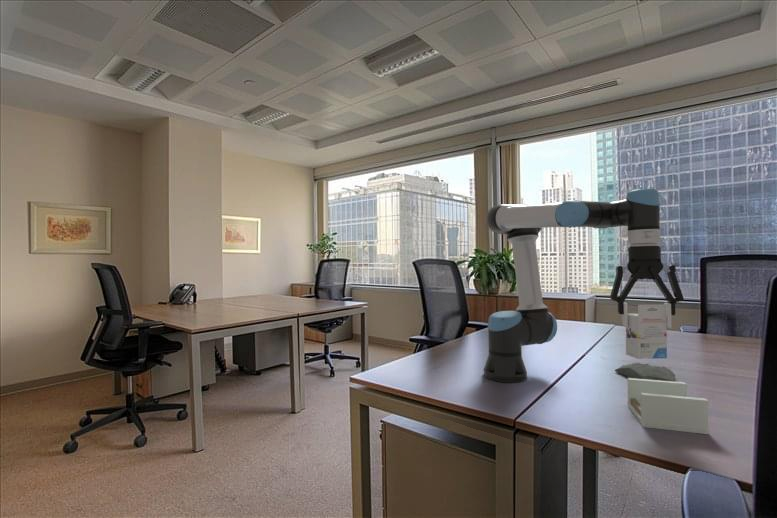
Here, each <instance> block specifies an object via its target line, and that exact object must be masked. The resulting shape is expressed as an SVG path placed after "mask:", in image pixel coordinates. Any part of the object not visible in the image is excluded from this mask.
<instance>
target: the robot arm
mask: <svg viewBox="0 0 777 518" xmlns="http://www.w3.org/2000/svg"><path fill="white" fill-rule="evenodd" d="M660 209H661V202H660V194H659V191H658V190H657V189H655V188H638V189H633V190H630V191H627V193H626V197H625V199H622V200H616V201H609V202H608V201H592V200H591V201H587V200H578V199H569V200H564V201H562V202H552V203H541V204H531V205H528V204H511V203H510V204H507V203H501V204H496V205H493V206H492V207H491V208H490V209H489V210H488V212H487V213H486V216H485V221H486V222H485V224H486V226H487V227H488V228H489V230H491V231H492V232H493V233H495V234H498V235H506V239H507V241H508V242H509V243H510V244H511V246H512V253H513V254H512V255H513V263H514V270H515V271H514V272H515V278H516V279H515V280H516V287H517V295H518V306H517V307H516V309H515V310H502V311H497V312H493V313H491V314H490V315H489V317H488V323H487V324H488V325H487V329H488V356H487V359H486V361H485V364H484V367H483V368H484V369H483V376H484V377H485V378H486V379H488V380H491V381H494V382H499V383H512V384H513V383H520V382H524V381H526V380H527V379H528V371H527V368H526V366H525V361H524V359H523V355H522V351H523V350H522V348H523V347H525V346H533V345H542V344H545V343H548V342H551V341H552V340H553V339H554V338H555V337H556V335H557V331H558V323H557V319H556V317H555V316H554V315H553V314H552V313H551V312H549V307H548V306H547V305H546V304H545V303H544V300H543V293H542V287H541V277H540V271H539V263H538V261H539V260H538V253H537V246H536V245H537V244H536V241H537V240H538V238H539V233H540V232H541V230H542V229H546V228H593V229H604V230H605V229H609V228H616V227H626V226H627V245H629V246H628V248H627V255H628V256H627V258H628V259H627V261H628V262H627V264H626V265H615V277H614V281H613V285H612V288H611V292H610V295H609V298H610V300H612V301H615V302H617V313H618V314H619V315H621V320H622V321H621V322H622V323H621V324H622V325H621V326H623V327H624V328H626V327H628V315H627V314H628V302H625V300H626V299H627V297H628V296H629V294H630V293H631V291H632V289H633V287H634V286H635V284H636V283H637V281H638V280H646V279H647V280H652V281H653V282H654V283H655V285H656V286H657V288H658V290H659V291H660V292H661V294H662V295H663V297H664V299H666V301H667V302H664V303H663V304H665V305H666V316H667V329H672V328H673V327H672V326H673V325H672V316H676V304H677V303H679V302H683V301H684V300H685V298H684V296H683V293H682V290H681V286H680V284H679V282H678V281H679V280H678V279H677V278H678V277H677V275H676V269H677V268H676V265H675V264H664V263H663V262H662V249H661V248H662V247H661V246H660V244H661V225H660V223H661V221H660V220H661V219H660V218H661V217H660V216H661V215H660V214H661V213H660V212H661V211H660ZM663 270H664V273H666V276H667V280H668V282H669V285H670V287H671V290H672V292H670V290H669V288H668V287H667V286H666V284H665V282H664V281H663V279H662V277H661V276H660V273H661V271H663ZM626 271H629V273H630V276H629V278H628V280H627V282H626V284H625V285H624V287H623V289H622V290H621V292H620V294H619V291H620V288H621V285H622V280H623V277H624V274H625V273H626ZM672 293H673V294H672Z"/></svg>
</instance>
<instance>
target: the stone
mask: <svg viewBox="0 0 777 518" xmlns="http://www.w3.org/2000/svg"><path fill="white" fill-rule="evenodd" d="M614 371H615V372H616V373H618V374H620V375H623V376H625V377H627V378H636V379H648V380H661V381H674V382H677V381H676V380H677V377H676V374H675V373H674V371H672V370H671V369H669V368H667V367H666V366H659V365H658V366H657V365H650V364H648V363H640V362H633V363H630V364H629V363H628V364H624V365H623V364H622V365H621V366H620V367H618V368H616V369H614Z"/></svg>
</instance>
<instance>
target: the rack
mask: <svg viewBox="0 0 777 518" xmlns="http://www.w3.org/2000/svg"><path fill="white" fill-rule="evenodd" d="M687 389H688V388H687V383H686V382H684V381H675V382H674V381H661V380H648V379H636V378H629V377H627V401H626V404H627V407H628V408H629V410H630V411H631V412H632V413H633V415H634V416H635V417H636V419H637V421H638V422H639V423H640V424H641V426H642V427H643V428H648V429H649V428H650V429H658V430H667V431H676V432H684V433H685V432H686V433H695V434H704V435H710V429H709V400H708V399H706V398H705V397H693V396H688V394H687V392H688V391H687Z"/></svg>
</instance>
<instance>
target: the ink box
mask: <svg viewBox="0 0 777 518" xmlns="http://www.w3.org/2000/svg"><path fill="white" fill-rule="evenodd" d="M652 308H653V309H656V310H651V309H652ZM627 315H628V327H625V355H627V356H629V357H631V358H635V359H639V360H642V359H644V360H648V359H649V360H650V359H651V360H652V359H668V357H667V356H668V353H667V352H668V351H667V348H668V347H667V346H668V345H667V344H668V342H667V341H668V339H667V338H668V335H667V334H668V331H667V330H668V328H667V316H666V305H665V304H664V303H661V304H659V303H658V304H656V303H655V304H650V303H649V304H648V303H647V304H638V305H637V313H627Z"/></svg>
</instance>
